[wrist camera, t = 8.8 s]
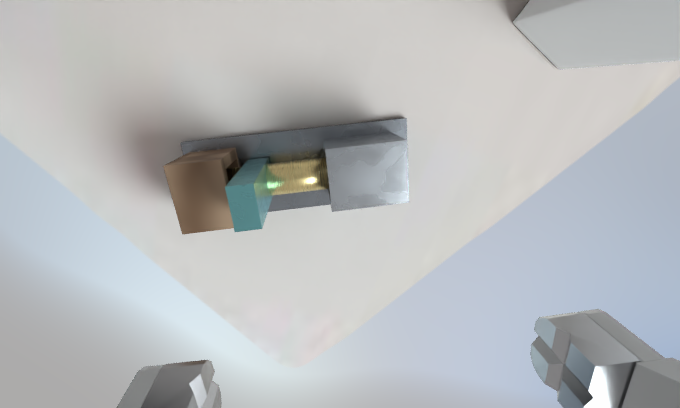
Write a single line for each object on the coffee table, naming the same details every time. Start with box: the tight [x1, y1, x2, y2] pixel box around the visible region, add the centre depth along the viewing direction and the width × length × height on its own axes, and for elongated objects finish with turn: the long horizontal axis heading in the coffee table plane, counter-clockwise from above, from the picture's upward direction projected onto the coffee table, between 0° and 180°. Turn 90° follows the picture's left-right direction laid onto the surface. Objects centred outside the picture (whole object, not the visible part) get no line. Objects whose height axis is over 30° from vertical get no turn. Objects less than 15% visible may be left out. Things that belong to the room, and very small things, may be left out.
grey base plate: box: [181, 118, 409, 212], centre depth 31 cm, size 22×8×6 cm, turn 96°
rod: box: [225, 157, 329, 232], centre depth 28 cm, size 13×4×10 cm, turn 96°
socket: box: [163, 148, 239, 234], centre depth 30 cm, size 4×6×6 cm
